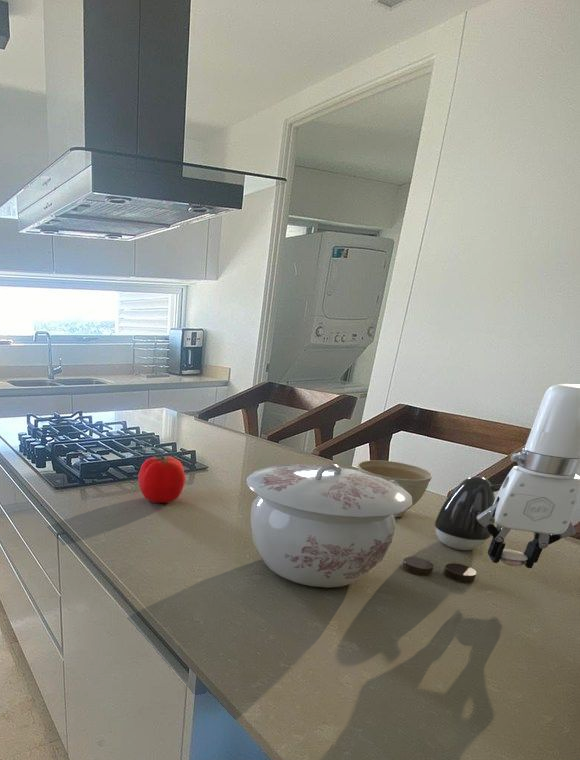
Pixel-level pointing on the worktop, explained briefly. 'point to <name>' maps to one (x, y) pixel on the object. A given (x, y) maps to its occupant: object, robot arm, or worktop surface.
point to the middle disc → (459, 572)
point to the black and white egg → (466, 514)
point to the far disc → (417, 566)
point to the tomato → (161, 479)
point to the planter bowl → (400, 476)
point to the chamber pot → (323, 521)
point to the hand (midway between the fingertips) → (510, 561)
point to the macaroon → (513, 558)
